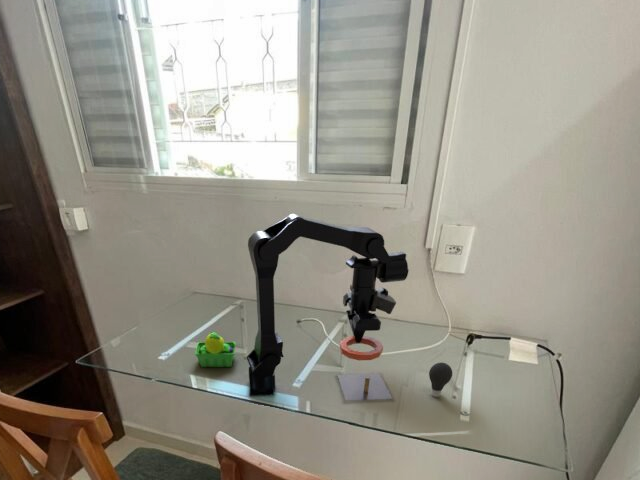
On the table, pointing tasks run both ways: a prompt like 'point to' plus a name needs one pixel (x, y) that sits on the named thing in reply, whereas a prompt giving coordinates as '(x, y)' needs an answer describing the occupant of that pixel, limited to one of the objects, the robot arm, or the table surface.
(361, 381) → the peg stand
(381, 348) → the ring
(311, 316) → the table surface
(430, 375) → the light bulb
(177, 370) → the table surface
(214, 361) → the fruit basket
